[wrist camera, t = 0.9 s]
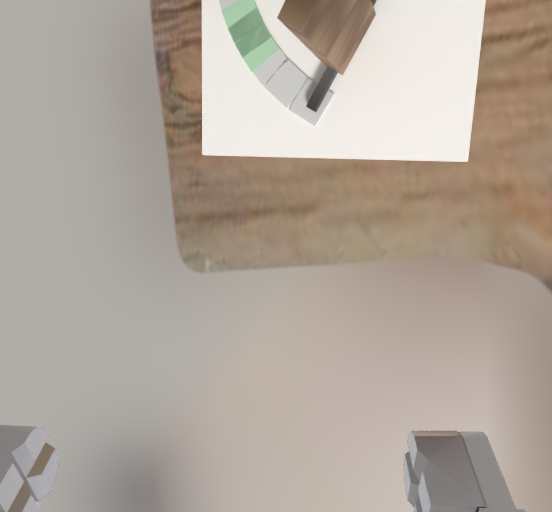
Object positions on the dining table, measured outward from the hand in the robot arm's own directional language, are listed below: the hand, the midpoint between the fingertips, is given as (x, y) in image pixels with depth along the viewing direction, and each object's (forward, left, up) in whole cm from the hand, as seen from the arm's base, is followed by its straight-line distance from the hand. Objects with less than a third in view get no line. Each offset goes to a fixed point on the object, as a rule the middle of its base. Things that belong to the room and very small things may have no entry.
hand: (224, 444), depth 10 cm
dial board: (-18, -5, -32) cm, 37 cm away
